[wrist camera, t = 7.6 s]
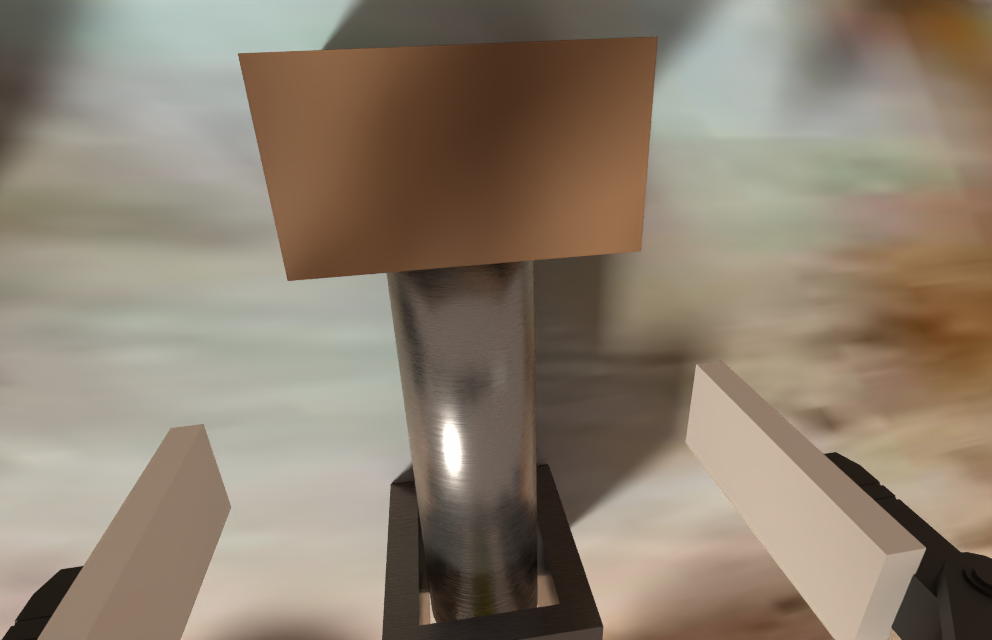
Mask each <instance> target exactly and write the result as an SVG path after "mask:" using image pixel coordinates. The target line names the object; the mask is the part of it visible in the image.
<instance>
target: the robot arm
mask: <svg viewBox="0 0 992 640" xmlns="http://www.w3.org/2000/svg"><path fill="white" fill-rule="evenodd" d="M685 443H686V444H687V446H688V447H689V448H690V450H691V451H692V452H693V454H694V455H695V456H696V458H697V459H698V460H699V461H700V463H701V464H702V465H703V467H704V468H705V469H706V471H707V472H708V473H709V475H710V476H711V477H712V479H713V480H714V481H715V483H716V484H717V485H718V487H719V488H720V489H721V490H722V492H723V493H724V494H725V496H726V497H727V498H728V500H729V501H730V502H731V504H732V505H733V506H734V508H735V509H736V510H737V512H738V513H739V514H740V516H741V517H742V518H743V519H744V521H745V522H746V523H747V525H748V526H749V527H750V529H751V530H752V531H753V533H754V534H755V535H756V537H757V538H758V539H759V541H760V542H761V543H762V545H763V546H764V547H765V548H766V550H767V551H768V552H769V554H770V555H771V556H772V558H773V559H774V560H775V562H776V563H777V564H778V566H779V567H780V568H781V570H782V571H783V572H784V574H785V575H786V576H787V577H788V579H789V580H790V581H791V583H792V584H793V585H794V587H795V588H796V589H797V591H798V592H799V593H800V595H801V596H802V597H803V599H804V600H805V601H806V603H807V604H808V605H809V606H810V608H811V609H812V610H813V612H814V613H815V614H816V616H817V617H818V618H819V620H820V621H821V622H822V624H823V625H824V626H825V628H826V629H827V630H828V631H829V633H830V634H831V635H832V637H833V638H834V639H835V640H888V638H889V636H890V633H891V631H892V629H893V630H894V631H895V632H896V633H897V635H898V636H899V637H900V638H901V639H902V640H992V559H991V558H989V557H986V556H984V555H979V554H974V553H969V552H963V553H961V552H960V551H959V550H957V549H956V548H955V547H954V546H953V545H952V544H950V543H949V542H948V541H947V540H946V539H945V538H944V537H942V536H941V535H940V534H939V533H938V532H937V531H935V530H934V529H933V528H932V527H931V526H930V525H929V524H927V523H926V522H925V521H924V520H923V519H922V518H920V517H919V516H918V515H917V514H916V513H915V512H914V511H912V510H911V509H910V508H909V507H908V506H907V505H905V504H904V503H903V502H902V501H901V500H900V499H898V500H897V499H896V498H895V495H894V494H893V493H892V492H890V491H889V490H888V489H887V488H886V487H885V486H883V485H882V486H881V485H880V482H879V481H878V480H877V479H875V478H874V477H873V476H872V475H871V474H870V473H868V472H867V471H866V470H865V469H864V468H863V467H862V466H860V465H859V464H857V463H855V462H853V461H851V460H849V459H847V458H846V457H844V456H842V455H840V454H838V453H836V452H834V453H827V454H823V453H822V452H821V451H820V450H819V449H817V448H816V447H815V446H814V445H813V444H812V443H811V442H810V441H809V440H808V439H807V438H805V437H804V436H803V435H802V434H801V433H800V432H799V431H798V430H797V429H796V428H795V427H793V426H792V425H791V424H790V423H789V422H788V421H787V420H786V419H785V418H784V417H782V416H781V415H780V414H779V413H778V412H777V411H776V410H775V409H774V408H773V407H772V406H770V405H769V404H768V403H767V402H766V401H765V400H764V399H763V398H762V397H761V396H760V395H758V394H757V393H756V392H755V391H754V390H753V389H752V388H751V387H750V386H749V385H748V384H746V383H745V382H744V381H743V380H742V379H741V378H740V377H739V376H738V375H737V374H735V373H734V372H733V371H732V370H731V369H730V368H729V367H728V366H727V365H726V364H725V363H723V362H722V361H718V362H709V363H701V364H696V370H695V377H694V385H693V392H692V399H691V406H690V414H689V421H688V428H687V435H686V442H685ZM230 509H231V505H230V502H229V499H228V496H227V493H226V490H225V487H224V484H223V481H222V478H221V475H220V472H219V469H218V466H217V463H216V460H215V457H214V454H213V451H212V448H211V445H210V442H209V439H208V436H207V433H206V430H205V427H204V424H201V425H193V426H185V427H176V428H171V429H170V430H169V432H168V434H167V435H166V437H165V438H164V440H163V441H162V443H161V445H160V446H159V448H158V449H157V451H156V452H155V454H154V456H153V457H152V459H151V460H150V462H149V464H148V465H147V467H146V468H145V470H144V471H143V473H142V475H141V476H140V478H139V479H138V481H137V483H136V484H135V486H134V487H133V489H132V490H131V492H130V494H129V495H128V497H127V498H126V500H125V501H124V503H123V505H122V506H121V508H120V509H119V511H118V513H117V514H116V516H115V517H114V519H113V520H112V522H111V524H110V525H109V527H108V528H107V530H106V532H105V533H104V535H103V536H102V538H101V539H100V541H99V543H98V544H97V546H96V547H95V549H94V550H93V552H92V554H91V555H90V557H89V558H88V560H87V562H86V563H85V565H84V566H81V567H74V568H67V569H61V570H60V571H59V572H58V573H56V574H55V575H54V576H53V577H52V578H51V579H50V580H49V581H48V582H46V583H45V584H44V585H43V586H42V587H41V588H40V589H39V590H38V591H36V592H35V593H34V594H33V596H32V597H31V598H30V600H29V601H28V603H27V604H26V606H25V607H24V609H23V610H22V611H21V613H20V614H19V616H18V617H17V619H16V620H15V625H14V626H11V627H10V629H9V630H8V632H7V633H6V634H5V636H4V637H3V639H2V640H180V639H181V637H182V634H183V632H184V629H185V626H186V624H187V621H188V618H189V616H190V613H191V611H192V608H193V605H194V603H195V600H196V598H197V595H198V592H199V590H200V587H201V585H202V582H203V579H204V577H205V574H206V571H207V569H208V566H209V564H210V561H211V558H212V556H213V553H214V551H215V548H216V545H217V543H218V540H219V537H220V535H221V532H222V530H223V527H224V524H225V522H226V519H227V517H228V514H229V511H230Z"/></svg>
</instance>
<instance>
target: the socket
mask: <svg viewBox="0 0 992 640" xmlns="http://www.w3.org/2000/svg"><path fill="white" fill-rule="evenodd" d="M657 39H658V37H635V38H610V39H585V40H560V41H536V42H511V43H486V44H462V45H437V46H412V47H387V48H363V49H338V50H313V51H288V52H264V53H239V54H238V56H239V61H240V65H241V70H242V74H243V79H244V84H245V88H246V93H247V97H248V102H249V106H250V111H251V115H252V120H253V125H254V129H255V134H256V138H257V143H258V147H259V152H260V156H261V161H262V166H263V170H264V175H265V179H266V184H267V188H268V193H269V197H270V202H271V206H272V211H273V216H274V220H275V225H276V229H277V234H278V238H279V243H280V247H281V252H282V257H283V261H284V266H285V270H286V275H287V279H288V281H293V280H305V279H317V278H329V277H340V276H352V275H364V274H376V273H388V272H400V271H412V270H423V269H435V268H447V267H459V266H471V265H483V264H495V263H506V262H518V261H530V260H542V259H554V258H566V257H578V256H590V255H601V254H613V253H625V252H637V251H641V245H642V232H643V219H644V206H645V193H646V180H647V168H648V155H649V142H650V129H651V116H652V103H653V90H654V78H655V65H656V52H657Z"/></svg>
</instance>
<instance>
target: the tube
mask: <svg viewBox="0 0 992 640" xmlns="http://www.w3.org/2000/svg"><path fill="white" fill-rule="evenodd" d="M387 279H388V286H389V294H390V301H391V308H392V316H393V323H394V331H395V338H396V345H397V353H398V360H399V368H400V375H401V383H402V390H403V397H404V405H405V412H406V420H407V427H408V434H409V442H410V449H411V457H412V464H413V471H414V479H415V486H416V494H417V501H418V508H419V516H420V523H421V531H422V538H423V546H424V553H425V560H426V568H427V575H428V583H429V590H430V597H431V605H432V611H433V615H434V618H435V620H436V622H437V623H440V622H446V621H453V620H459V619H466V618H472V617H479V616H485V615H492V614H498V613H505V612H511V611H518V610H524V609H530V608H537V603H538V571H537V476H536V382H535V288H534V260H530V261H518V262H506V263H495V264H483V265H471V266H459V267H447V268H435V269H423V270H412V271H400V272H388V273H387Z"/></svg>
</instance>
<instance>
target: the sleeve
mask: <svg viewBox="0 0 992 640" xmlns="http://www.w3.org/2000/svg"><path fill="white" fill-rule="evenodd" d="M536 476H537V571H538V603H537V604H538V607H537V608H530V609H524V610H518V611H511V612H505V613H498V614H492V615H485V616H479V617H472V618H466V619H459V620H453V621H446V622H440V623H433V624H430V597H429V593H430V590H429V583H428V575H427V568H426V560H425V553H424V546H423V538H422V531H421V523H420V516H419V508H418V501H417V494H416V486H415V481H413V482H405V483H397V484H391V490H390V508H389V526H388V544H387V562H386V580H385V598H384V616H383V634H382V640H602V638H603V624H602V621H601V618H600V615H599V612H598V609H597V607H596V604H595V601H594V598H593V595H592V592H591V589H590V586H589V583H588V580H587V577H586V574H585V571H584V568H583V565H582V562H581V559H580V556H579V553H578V550H577V548H576V545H575V542H574V539H573V536H572V533H571V530H570V527H569V524H568V521H567V518H566V515H565V512H564V509H563V506H562V503H561V500H560V497H559V494H558V491H557V489H556V486H555V483H554V480H553V477H552V474H551V471H550V468H549V465H540V466H536Z"/></svg>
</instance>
